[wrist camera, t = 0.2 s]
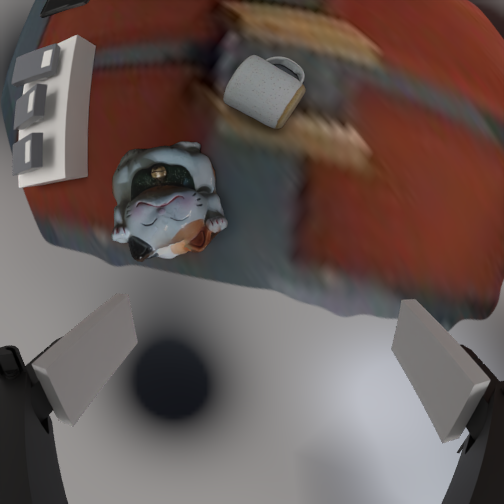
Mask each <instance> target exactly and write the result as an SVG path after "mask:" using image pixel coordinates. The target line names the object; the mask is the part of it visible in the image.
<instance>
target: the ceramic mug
mask: <svg viewBox="0 0 504 504" xmlns="http://www.w3.org/2000/svg"><path fill="white" fill-rule="evenodd" d="M272 64H281V65H284V66H286V67H287V68H289V69H290V70H292V71H293V72H294V73H295V74H297V76H298V78H299V81H298V80H297V79H296V78H294V77H293V76H291V75H289V74H287V73H286V72H284V71H282V70H281V69H279V68H277V67H276V66H274V65H272ZM304 76H305V75H304V72H303V70H302V68H301V67H300V66H299V65H298V64H297V63H295V62H294V61H292V60H290V59H288V58H285V57H272V58H269V59H267V60H264V59H262V58H260V57H259V56H256V55H252V56H250V57H248V58H247V59H246V60H245V61H244V62H243V63H242V64H241V65H240V66H239V67H238V69H237V70H236V71H235V73H234V75H233V76H232V78H231V79H230V81H229V83H228V85H227V87H226V90H225V93H224V102H225V104H227V105H229V106H231V107H233V108H235V109H237V110H239V111H241V112H243V113H244V114H246V115H248V116H250V117H252V118H254V119H256V120H258V121H259V122H261V123H263V124H265V125H267V126H269V127H272V128H275V129H279V128H281V127H282V126H283V125H284V124H285V122H286V121H287V120H288V118H289V117H290V115H291V114H292V112H293V111H294V109H295V108H296V106H297V105H298V103H299V102H300V100H301V98H302V97H303V95H304V93H305V91H306V90H305V87H304V85H303V84H302V83H303V81H304Z"/></svg>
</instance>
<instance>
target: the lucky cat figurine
mask: <svg viewBox="0 0 504 504" xmlns="http://www.w3.org/2000/svg"><path fill="white" fill-rule="evenodd" d="M200 147H201V145H200V144H198V142H196V143H194V142H185V141H184V142H178V143H176V144H174V145H172V146H159V147H155V148H151V149H134V150H129V151H128V152H127V153H126V154H125V155H124V156H123V157H122V159H121V161H120V164H119V165H118V167H117V169H116V171H115V173H114V176H113V179H112V192H113V195H114V197H115V199H116V201H117V204H118V205H117V206H116V207H115V208H114V228H113V232H112V234H111V237H112V240H113V241H118V242H119V243H129V247H130V251H131V255H132V257H133V258H134V259H135V260H137V261H140V262H143V261H144V260H145V259H150V258H152V257H161V258H168V259H171V258H174V257H175V256H177V255H179V254H184V253H186V252H187V251H192V252H194V253H195V252H201V251H203V250H204V249H205V247H206V246H207V245H208V244H209V243H210V242H211V240H212V239H213V238H214V237H215V236H216V235H217V234H218V233H219V232H220V231H221V230H223V229H224V228H226V227H227V224H228V222H227V220H226V218H225V217H224V213H223V209H222V208H221V203H220V198H219V196H218V195H217V193H216V188H215V181H216V180H215V170H214V168H213V166H212V164H211V162H210V159H209V157H207V156H205V155H203V154H201V152H200Z"/></svg>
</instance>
